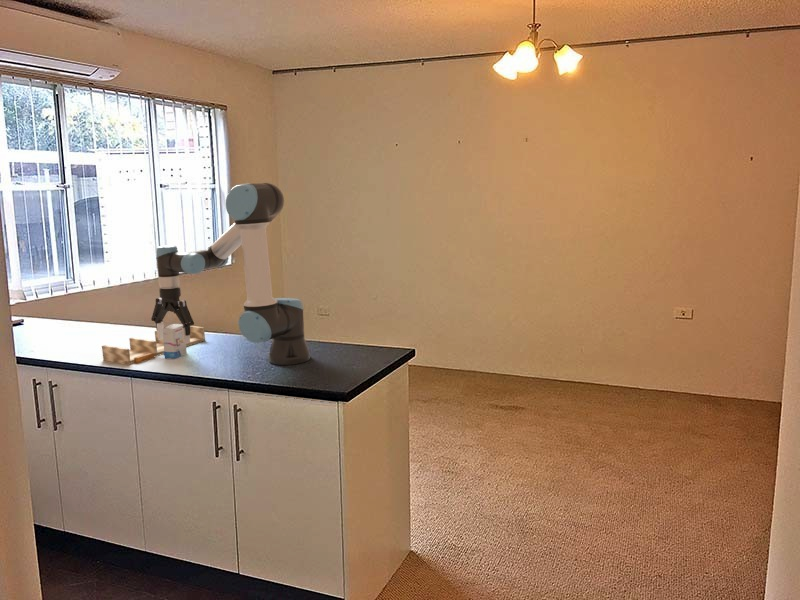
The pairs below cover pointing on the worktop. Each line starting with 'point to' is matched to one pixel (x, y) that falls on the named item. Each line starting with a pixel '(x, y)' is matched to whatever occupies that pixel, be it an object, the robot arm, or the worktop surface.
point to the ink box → (173, 341)
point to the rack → (145, 348)
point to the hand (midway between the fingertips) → (174, 341)
